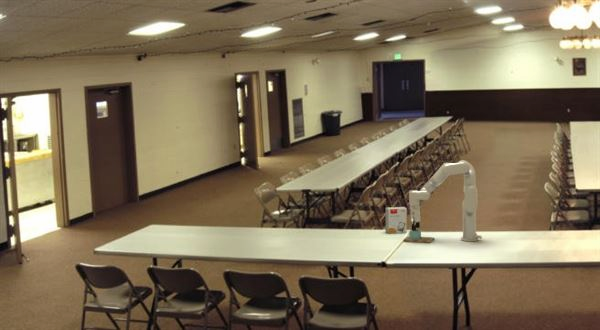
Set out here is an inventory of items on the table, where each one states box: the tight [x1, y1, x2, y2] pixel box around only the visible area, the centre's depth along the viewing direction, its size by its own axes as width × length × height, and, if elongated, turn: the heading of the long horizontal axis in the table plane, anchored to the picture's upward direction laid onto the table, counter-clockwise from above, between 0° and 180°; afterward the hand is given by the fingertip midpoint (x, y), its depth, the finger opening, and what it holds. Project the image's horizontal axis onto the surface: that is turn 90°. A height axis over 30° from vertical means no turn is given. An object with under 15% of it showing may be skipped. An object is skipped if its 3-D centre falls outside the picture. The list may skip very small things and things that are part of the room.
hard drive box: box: [385, 206, 408, 235], centre depth 567 cm, size 16×8×20 cm, turn 97°
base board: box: [403, 235, 435, 245], centre depth 537 cm, size 20×14×6 cm
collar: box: [408, 229, 422, 240], centre depth 538 cm, size 7×7×6 cm
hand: (415, 229), depth 537 cm, fingers open, 9 cm apart
